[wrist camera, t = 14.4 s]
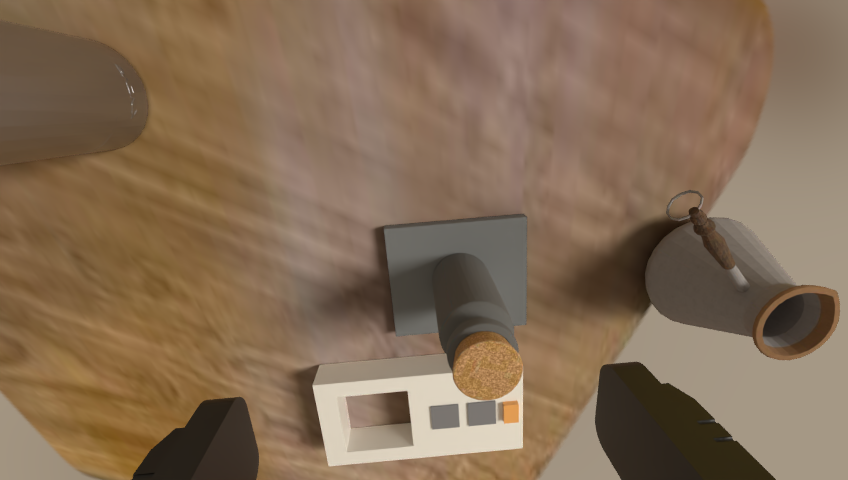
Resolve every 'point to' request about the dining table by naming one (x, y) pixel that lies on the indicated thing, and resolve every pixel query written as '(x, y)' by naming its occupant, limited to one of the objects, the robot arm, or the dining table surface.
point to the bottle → (475, 328)
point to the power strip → (413, 412)
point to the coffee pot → (737, 287)
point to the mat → (433, 241)
